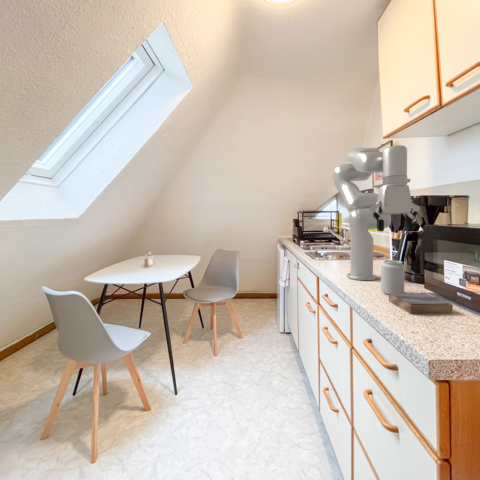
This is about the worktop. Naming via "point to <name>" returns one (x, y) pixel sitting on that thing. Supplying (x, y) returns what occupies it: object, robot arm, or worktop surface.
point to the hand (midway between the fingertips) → (394, 230)
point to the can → (392, 277)
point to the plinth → (420, 303)
